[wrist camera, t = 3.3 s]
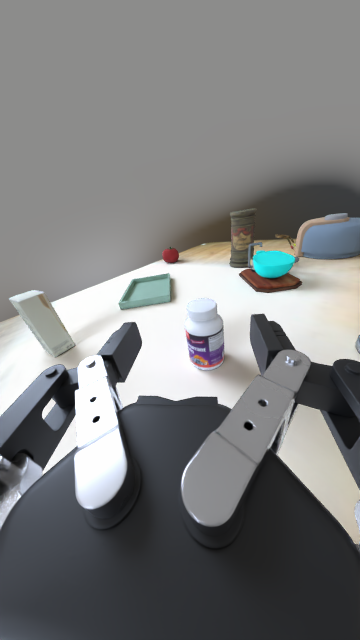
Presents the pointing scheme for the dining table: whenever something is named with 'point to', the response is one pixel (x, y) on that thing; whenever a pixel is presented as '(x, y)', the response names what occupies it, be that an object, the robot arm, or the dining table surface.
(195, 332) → the pill bottle
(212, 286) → the dining table surface
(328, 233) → the alarm clock
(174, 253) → the tomato
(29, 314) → the cosmetic box
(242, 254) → the container
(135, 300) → the tray
